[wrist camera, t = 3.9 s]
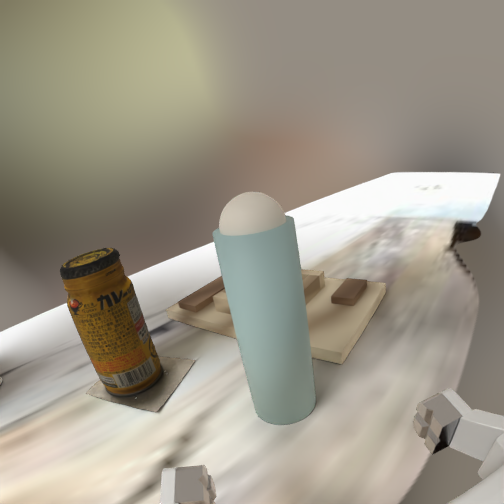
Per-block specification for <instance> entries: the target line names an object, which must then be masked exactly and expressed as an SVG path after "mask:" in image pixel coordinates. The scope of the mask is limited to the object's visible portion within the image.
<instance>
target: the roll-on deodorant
mask: <svg viewBox="0 0 504 504" xmlns="http://www.w3.org/2000/svg"><path fill="white" fill-rule="evenodd" d="M213 238H214V243H215V247H216V252H217V256H218V260H219V265H220V269H221V274H222V278H223V282H224V287H225V291H226V295H227V299H228V304H229V308H230V312H231V316H232V320H233V324H234V329H235V333H236V337H237V341H238V345H239V349H240V353H241V357H242V361H243V365H244V369H245V372H246V376H247V380H248V384H249V388H250V392H251V395H252V399H253V403H254V407H255V410H256V413H257V415H258V416H259V417H260V418H261V419H262V420H264V421H266V422H268V423H271V424H275V425H287V424H292V423H295V422H298V421H300V420H302V419H304V418H305V417H307V416H308V415H309V414H310V413H311V412H312V411H313V409H314V407H315V404H316V396H315V385H314V375H313V365H312V355H311V346H310V337H309V328H308V320H307V312H306V303H305V295H304V288H303V280H302V273H301V265H300V258H299V251H298V244H297V237H296V231H295V224H294V219H293V218H292V217H290V216H286V215H285V214H284V211H283V209H282V208H281V206H280V205H279V204H278V203H277V202H276V200H274V199H273V198H272V197H270V196H268V195H266V194H263V193H260V192H247V193H243V194H240V195H238V196H236V197H234V198H233V199H232V200H230V202H228V204H227V205H226V206H225V208H224V209H223V211H222V214H221V217H220V223H219V228H218V229H216V230H215V231H214V232H213Z"/></svg>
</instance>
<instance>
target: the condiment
mask: <svg viewBox="0 0 504 504" xmlns="http://www.w3.org/2000/svg"><path fill="white" fill-rule="evenodd" d="M119 256H120V255H119V252H118V251H117V250H115V249H113V248H104V249H99V250H94V251H91V252H88V253H85V254H82V255H79V256H77V257H75V258H73V259H71V260H69V261H67V262H66V263H64V264H63V265H62V267H61V269H60V273H61V277H62V280H63V282H64V284H65V286H64V287H65V290H66V291H67V292H68V293H69V294H68V299H67V306H68V308H69V311H70V313H71V316H72V318H73V321H74V323H75V326H76V328H77V331H78V333H79V335H80V338H81V340H82V342H83V344H84V347H85V349H86V351H87V353H88V355H89V357H90V359H91V362H92V364H93V366H94V368H95V370H96V372H97V374H98V376H99V378H100V381H98V382H97V383H96V384H94V386H93V387H91V388H90V389H89V390H88V392H87V393H86V394H89V395H92V396H95V397H98V398H102V399H104V400H107V401H111V402H115V403H119V404H125V405H127V406H131V407H134V408H138V409H146V410H149V411H153V412H157V411H158V410H159V408H160V407H161V406H162V405H163V404H164V403H165V401H166V400H167V399H168V398H169V396H170V395H171V394H172V393H173V391H174V390H175V389H176V387H177V386H178V384H179V383H180V382H181V381H182V379H183V377H184V376H185V374H186V373H187V372H188V371H189V369H190V367H191V366H192V364H193V363H194V361H195V360H190V359H180V358H170V357H158V355H157V352H156V350H155V346H154V344H153V342H152V339H151V337H150V334H149V331H148V329H147V325H146V323H145V320H144V317H143V314H142V311H141V309H140V305H139V303H138V299H137V297H136V294H135V291H134V287H133V284H132V282H131V280H130V279H129V278H128V277H126V276H125V275H124V268H123V266H122V264H121V262H120V259H119ZM164 371H166V372H167V373H168V374H166V372H164ZM136 397H137V398H136Z"/></svg>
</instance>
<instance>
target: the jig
mask: <svg viewBox="0 0 504 504" xmlns="http://www.w3.org/2000/svg"><path fill="white" fill-rule="evenodd" d="M301 273H302V280H303V288H304V295H305V303H306V312H307V320H308V328H309V337H310V346H311V355H312V358H315V359H320V360H324V361H329V362H334V363H339V364H343V362H344V361H345V359H346V358H347V356H348V354H349V353H350V351H351V350H352V348H353V347H354V345H355V344H356V342H357V340H358V339H359V337H360V336H361V334H362V332H363V331H364V329H365V327H366V326H367V324H368V322H369V321H370V319H371V317H372V316H373V314H374V312H375V311H376V309H377V307H378V305H379V304H380V302H381V300H382V298H383V297H384V295H385V293H386V283H380V282H369V281H367V280H361V279H349V278H347V279H334V278H324V271H314V270H302V269H301ZM166 311H167V314H168V317H169V318H170V319H173V320H176V321H179V322H182V323H186V324H189V325H192V326H195V327H198V328H202V329H205V330H208V331H212V332H215V333H218V334H222V335H225V336H229V337H232V338H236V339H237V337H236V333H235V329H234V324H233V320H232V316H231V312H230V308H229V304H228V299H227V295H226V291H225V287H224V282H223V278H222V276H221V277H219V278H217V279H216V280H214V281H212V282H211V283H209V284H207V285H206V286H204V287H202V288H201V289H199V290H197V291H195V292H194V293H192V294H190V295H189V296H187V297H185V298H184V299H182V300H180V301H179V302H178V303H176V304H174V305H173V306H171V307H169V308H168V309H166Z"/></svg>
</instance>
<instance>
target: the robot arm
mask: <svg viewBox="0 0 504 504" xmlns="http://www.w3.org/2000/svg"><path fill="white" fill-rule="evenodd" d="M1 383H2V378H1V377H0V384H1ZM416 410H417V411H418V413H417V414H416V415H415V417H414V421H413V424H414V429H415V431H416V433H417V434H418V436H419V437H421V438H424V439H425V443H424V444H425V446H426V447H427V448H428V450H429V451H430V452H431V454H432V455H433V454H434V453H436V452H438V451H440V450H442V449H444V448H446V447H448V446H449V447H451V448H453V449H455V450H458V451H460V452H462V453H464V454H467V455H469V456H472V457H474V458H476V459H478V460H481V461H483V463H482V465H481V467H480V468H479V470H478V474H479V476H480V477H481V479H482V481H481V482H479V483H478V484H476V485H475V486H473V487H472V488H470V489H469V490H467V491H466V492H464V493H463V494H461V495H460V496H458V497H456V498H455V499H453V500H451V501H450V502H448V503H446V504H504V416H501V415H498V414H493V413H490V412H486V411H482V410H478V409H474V410H472V409H471V408H470V407H469V406H468V405H467V404H466V403H465V402H464V401H463V400H462V399H461V398H460V397H459V395H458V394H457V393H456V392H455V391H454V390H453V389H451V388H448V389H446V390H444V391H442V392H440V393H437V394H436V395H434V396H432V397H430V398H428V399H426V400H424V401H422V402H420V403H418V405H417V407H416ZM215 498H216V490H215V485H214V482H213V479H212V477H211V476H210V475H208V473H207V468H206V467H205V465H200V466H190V467H178V468H177V467H176V468H164V469H163V471H162V479H161V495H160V504H215V502H214V499H215Z"/></svg>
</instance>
